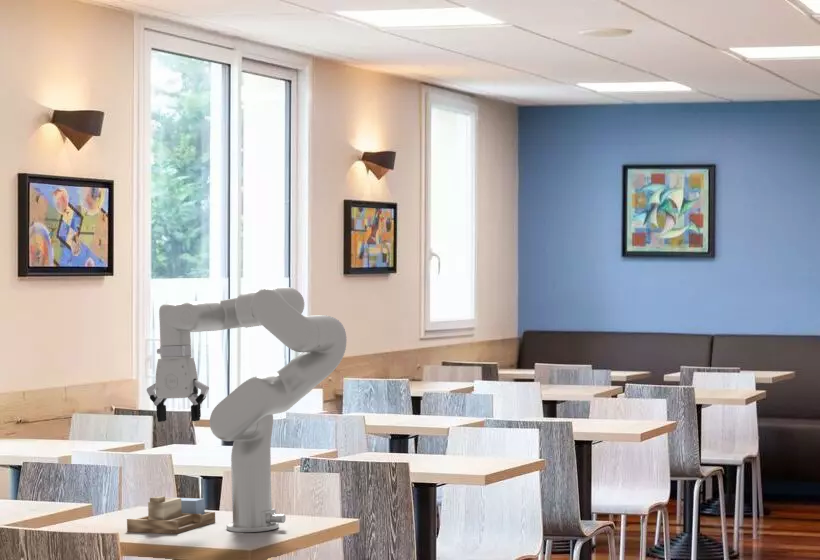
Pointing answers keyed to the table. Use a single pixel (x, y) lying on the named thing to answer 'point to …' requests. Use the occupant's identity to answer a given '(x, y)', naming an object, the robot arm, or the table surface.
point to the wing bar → (192, 505)
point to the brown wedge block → (164, 508)
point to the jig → (170, 523)
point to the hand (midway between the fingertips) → (178, 421)
